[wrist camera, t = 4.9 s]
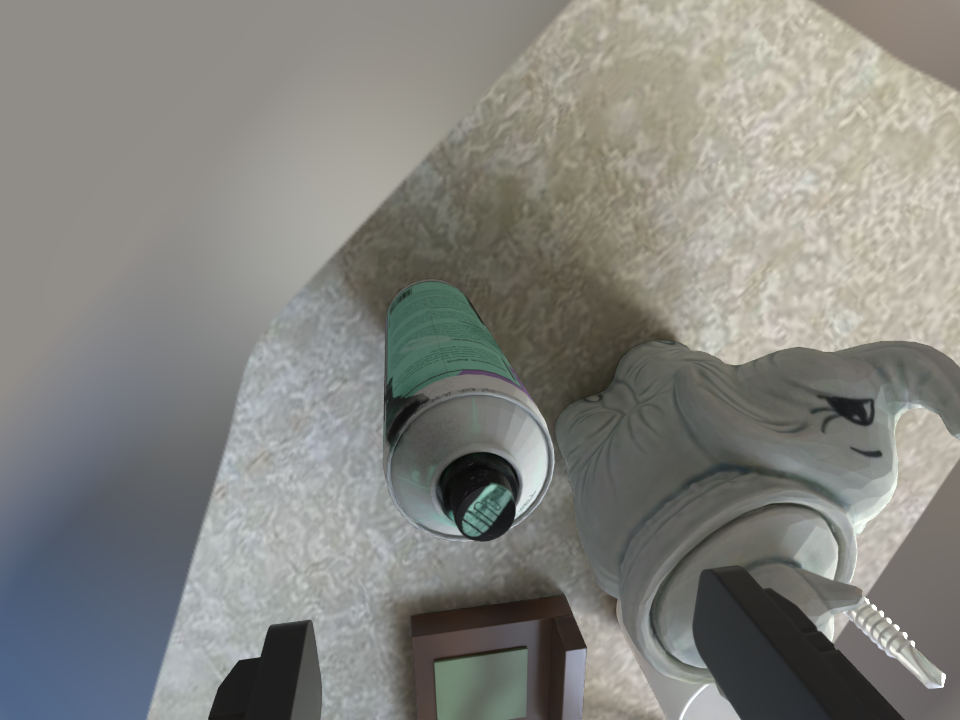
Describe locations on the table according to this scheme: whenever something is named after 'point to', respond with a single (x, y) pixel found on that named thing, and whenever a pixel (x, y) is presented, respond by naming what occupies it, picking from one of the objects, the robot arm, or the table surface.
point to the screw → (895, 644)
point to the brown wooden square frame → (500, 662)
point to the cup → (681, 691)
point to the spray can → (457, 421)
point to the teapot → (740, 476)
